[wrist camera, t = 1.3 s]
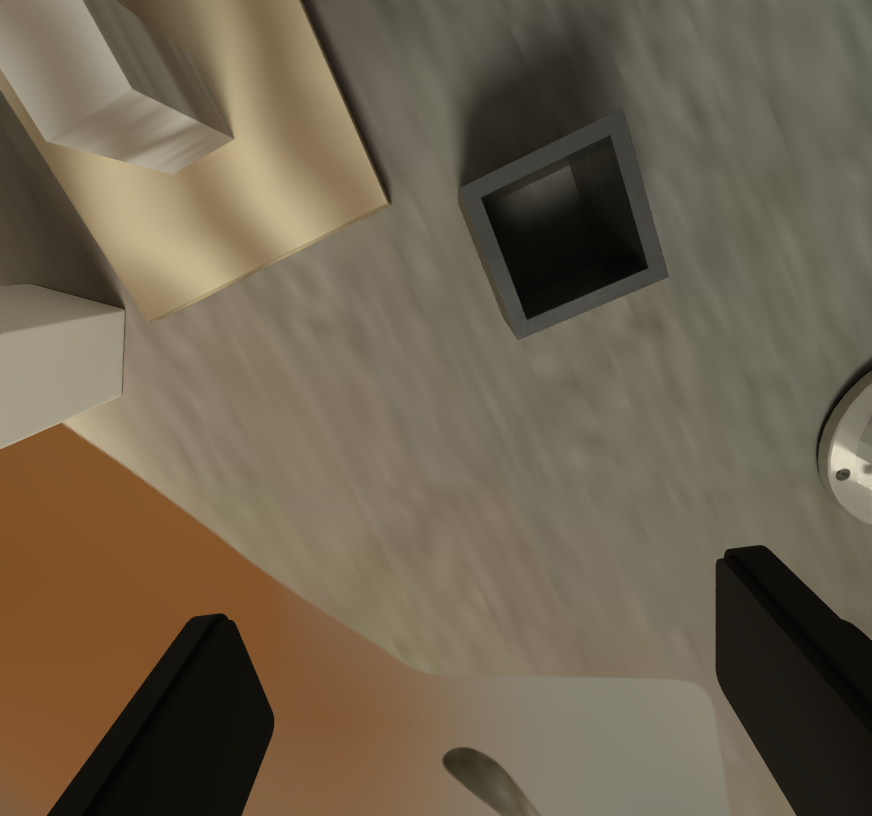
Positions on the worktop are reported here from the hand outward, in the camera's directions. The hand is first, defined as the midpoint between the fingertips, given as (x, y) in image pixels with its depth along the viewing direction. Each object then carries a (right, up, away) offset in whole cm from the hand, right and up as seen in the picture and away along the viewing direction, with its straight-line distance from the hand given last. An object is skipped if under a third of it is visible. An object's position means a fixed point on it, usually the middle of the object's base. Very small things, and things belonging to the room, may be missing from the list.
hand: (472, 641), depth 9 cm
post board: (-14, +20, +16) cm, 29 cm away
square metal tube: (+5, +14, +17) cm, 23 cm away
